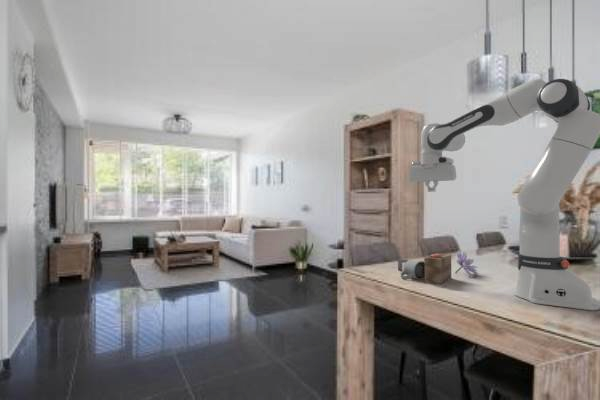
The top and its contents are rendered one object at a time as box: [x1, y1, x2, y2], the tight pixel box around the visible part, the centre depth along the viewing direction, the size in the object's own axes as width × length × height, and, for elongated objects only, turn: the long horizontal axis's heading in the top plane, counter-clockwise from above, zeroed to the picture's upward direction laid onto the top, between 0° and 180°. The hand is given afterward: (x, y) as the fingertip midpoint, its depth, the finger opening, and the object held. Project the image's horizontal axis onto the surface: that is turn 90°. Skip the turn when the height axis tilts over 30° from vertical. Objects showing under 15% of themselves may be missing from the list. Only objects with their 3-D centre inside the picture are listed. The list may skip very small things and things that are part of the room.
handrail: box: [397, 258, 410, 272], centre depth 149 cm, size 19×2×5 cm, turn 48°
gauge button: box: [430, 253, 440, 258], centre depth 132 cm, size 3×3×6 cm
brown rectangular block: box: [423, 253, 452, 286], centre depth 134 cm, size 6×14×10 cm, turn 138°
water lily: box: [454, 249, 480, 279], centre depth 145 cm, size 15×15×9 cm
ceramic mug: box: [400, 259, 425, 281], centre depth 139 cm, size 11×8×8 cm
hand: (431, 191), depth 146 cm, fingers closed
